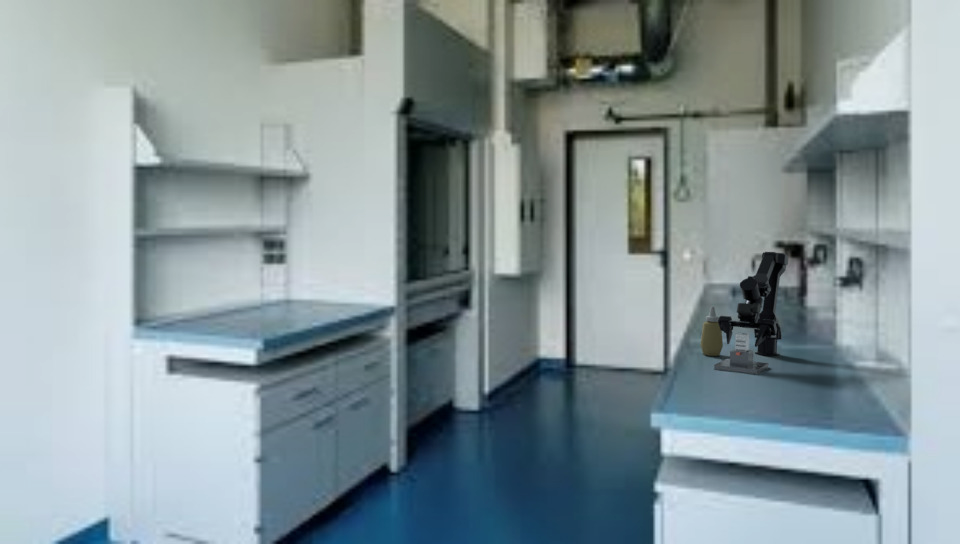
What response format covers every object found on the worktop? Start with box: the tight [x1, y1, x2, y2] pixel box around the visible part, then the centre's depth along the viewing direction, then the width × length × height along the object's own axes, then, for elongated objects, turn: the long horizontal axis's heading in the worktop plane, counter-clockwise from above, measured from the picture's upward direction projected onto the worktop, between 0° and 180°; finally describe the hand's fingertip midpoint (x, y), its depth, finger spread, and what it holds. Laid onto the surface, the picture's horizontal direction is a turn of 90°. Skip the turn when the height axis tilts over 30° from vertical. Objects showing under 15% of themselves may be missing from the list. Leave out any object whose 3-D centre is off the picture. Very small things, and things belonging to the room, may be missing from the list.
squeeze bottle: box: [699, 306, 724, 357], centre depth 280 cm, size 8×8×18 cm
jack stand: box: [713, 348, 769, 375], centre depth 255 cm, size 14×14×6 cm
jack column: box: [734, 332, 750, 353], centre depth 254 cm, size 4×4×10 cm
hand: (741, 344), depth 254 cm, fingers open, 9 cm apart
